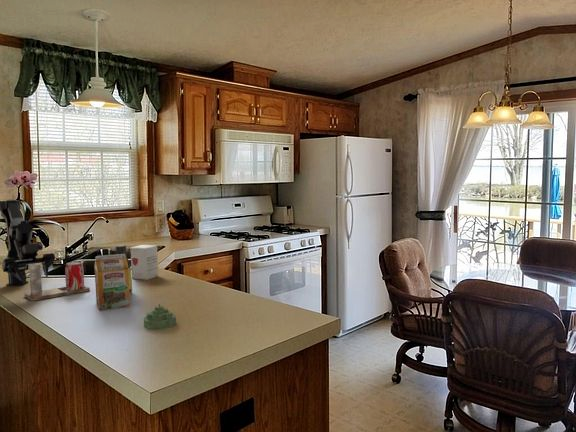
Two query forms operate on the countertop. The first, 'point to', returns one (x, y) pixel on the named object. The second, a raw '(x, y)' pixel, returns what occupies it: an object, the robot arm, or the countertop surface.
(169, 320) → the decorative artifact
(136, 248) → the supplement box
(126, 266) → the food package
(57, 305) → the countertop surface
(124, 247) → the sauce bottle
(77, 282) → the soda can
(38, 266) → the brown board
